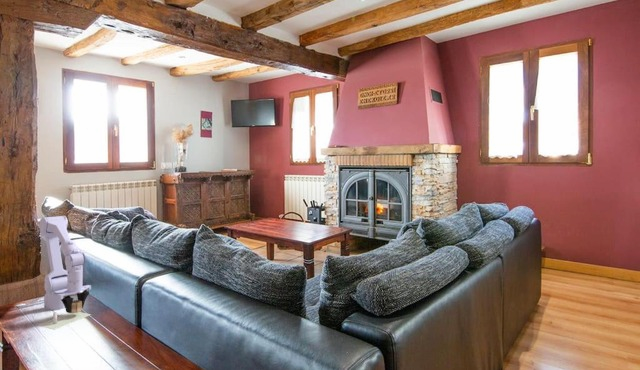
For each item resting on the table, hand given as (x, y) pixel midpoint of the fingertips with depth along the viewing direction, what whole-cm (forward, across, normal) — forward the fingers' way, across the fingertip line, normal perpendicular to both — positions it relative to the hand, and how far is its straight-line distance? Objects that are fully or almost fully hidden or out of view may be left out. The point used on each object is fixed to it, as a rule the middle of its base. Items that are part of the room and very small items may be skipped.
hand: (74, 309), depth 172 cm
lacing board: (+4, -4, 0) cm, 6 cm away
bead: (0, 0, 0) cm, 0 cm away
